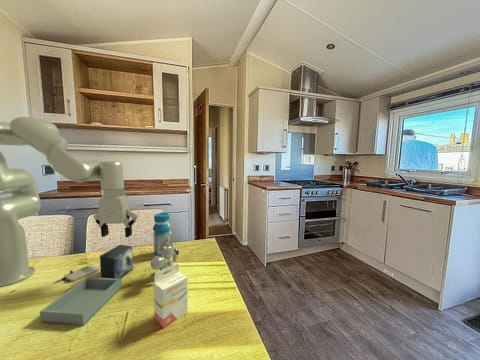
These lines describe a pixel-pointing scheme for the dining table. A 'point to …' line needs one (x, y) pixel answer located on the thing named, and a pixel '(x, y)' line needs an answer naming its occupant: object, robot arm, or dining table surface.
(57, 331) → the dining table surface
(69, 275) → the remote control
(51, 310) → the tray
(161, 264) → the robot toy
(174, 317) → the ink cartridge box
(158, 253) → the beverage bottle
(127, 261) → the small box
